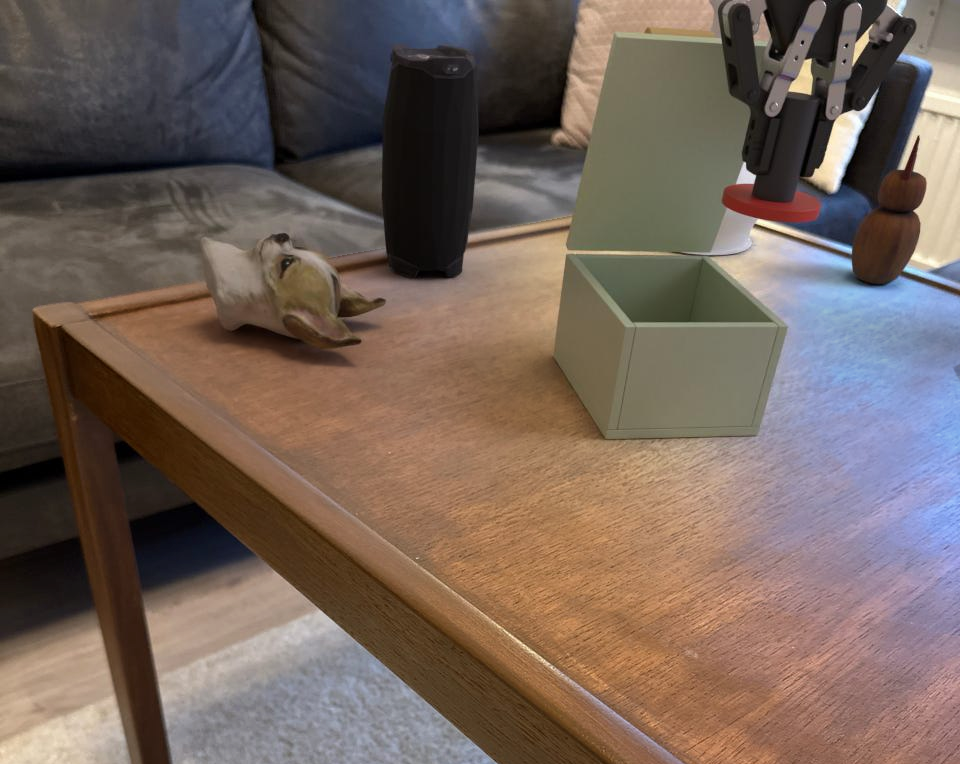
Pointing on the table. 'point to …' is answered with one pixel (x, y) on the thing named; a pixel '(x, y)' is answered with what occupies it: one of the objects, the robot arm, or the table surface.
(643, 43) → the chest lid
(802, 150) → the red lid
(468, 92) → the portable speaker
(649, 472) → the table surface
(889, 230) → the wooden figurine
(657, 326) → the chest
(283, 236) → the ceramic sculpture
